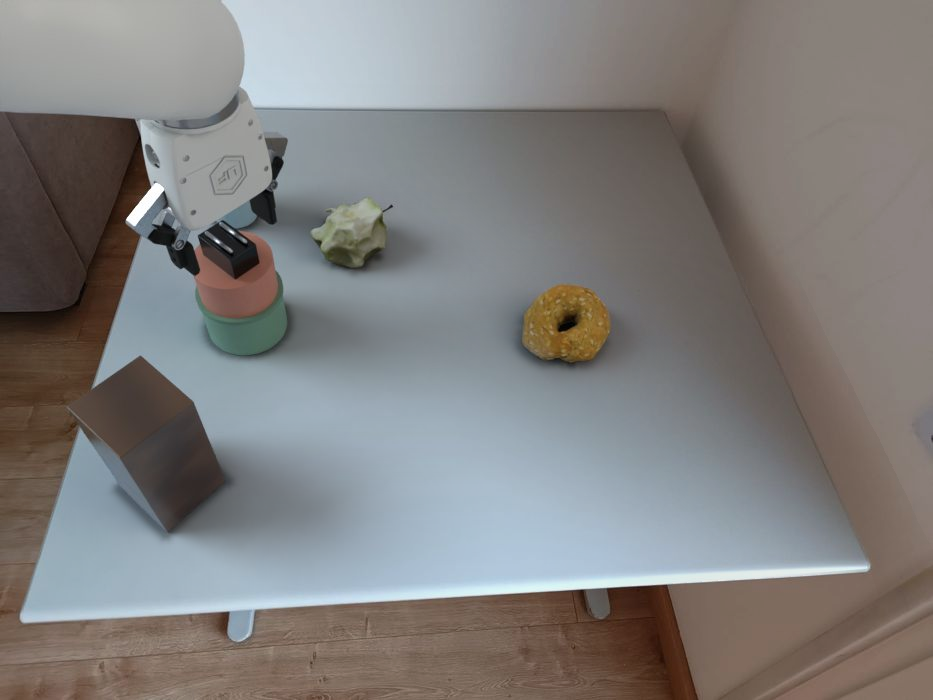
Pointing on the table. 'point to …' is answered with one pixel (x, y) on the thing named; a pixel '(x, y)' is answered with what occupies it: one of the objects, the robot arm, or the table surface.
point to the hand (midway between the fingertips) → (227, 241)
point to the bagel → (564, 308)
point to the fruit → (352, 233)
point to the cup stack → (242, 303)
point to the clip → (229, 249)
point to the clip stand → (150, 441)
